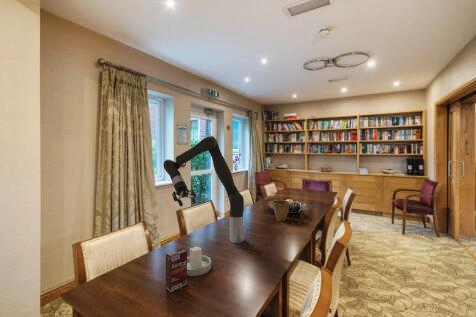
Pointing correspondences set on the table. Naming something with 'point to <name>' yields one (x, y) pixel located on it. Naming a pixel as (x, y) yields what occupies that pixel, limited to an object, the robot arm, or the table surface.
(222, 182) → the robot arm
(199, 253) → the cream rectangular block
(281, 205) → the plant pot
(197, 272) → the round tray
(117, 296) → the table surface
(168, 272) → the supplement box
